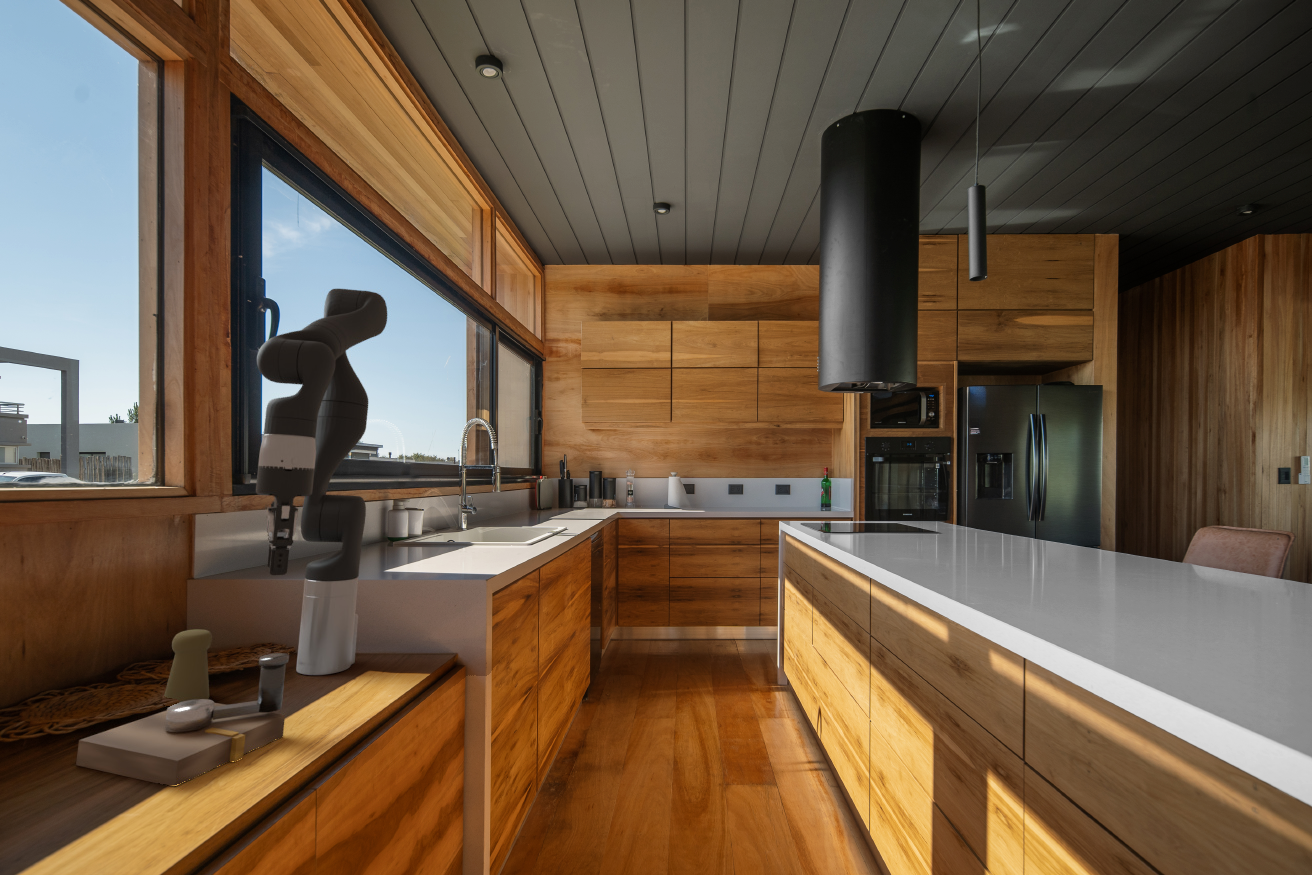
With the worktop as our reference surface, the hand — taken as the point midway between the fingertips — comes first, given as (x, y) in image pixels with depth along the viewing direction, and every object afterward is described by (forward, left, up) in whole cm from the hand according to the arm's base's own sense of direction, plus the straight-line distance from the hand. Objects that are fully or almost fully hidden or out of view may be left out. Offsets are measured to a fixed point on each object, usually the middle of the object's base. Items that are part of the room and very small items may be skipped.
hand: (276, 570), depth 92 cm
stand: (+11, 0, -22) cm, 25 cm away
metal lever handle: (+8, +2, -19) cm, 21 cm away
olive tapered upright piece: (-2, -17, -22) cm, 28 cm away
